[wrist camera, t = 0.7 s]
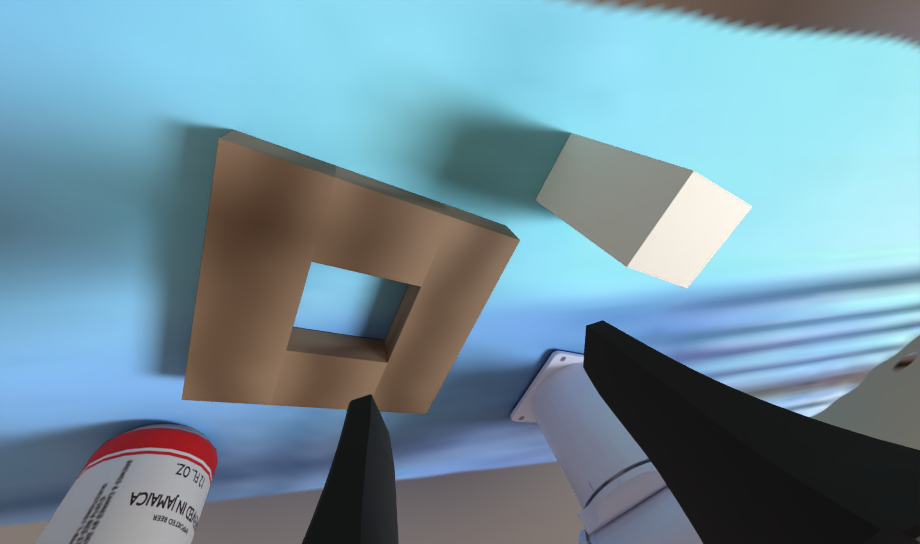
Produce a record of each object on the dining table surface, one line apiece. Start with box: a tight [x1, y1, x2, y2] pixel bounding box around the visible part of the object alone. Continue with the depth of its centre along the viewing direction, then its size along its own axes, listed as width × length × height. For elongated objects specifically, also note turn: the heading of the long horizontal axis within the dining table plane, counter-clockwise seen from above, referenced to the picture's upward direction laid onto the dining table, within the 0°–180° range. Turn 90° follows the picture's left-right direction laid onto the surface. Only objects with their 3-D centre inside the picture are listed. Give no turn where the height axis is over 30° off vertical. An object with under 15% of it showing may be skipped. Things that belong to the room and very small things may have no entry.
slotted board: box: [182, 130, 520, 414], centre depth 19 cm, size 14×14×2 cm
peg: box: [536, 133, 752, 288], centre depth 17 cm, size 4×4×8 cm
